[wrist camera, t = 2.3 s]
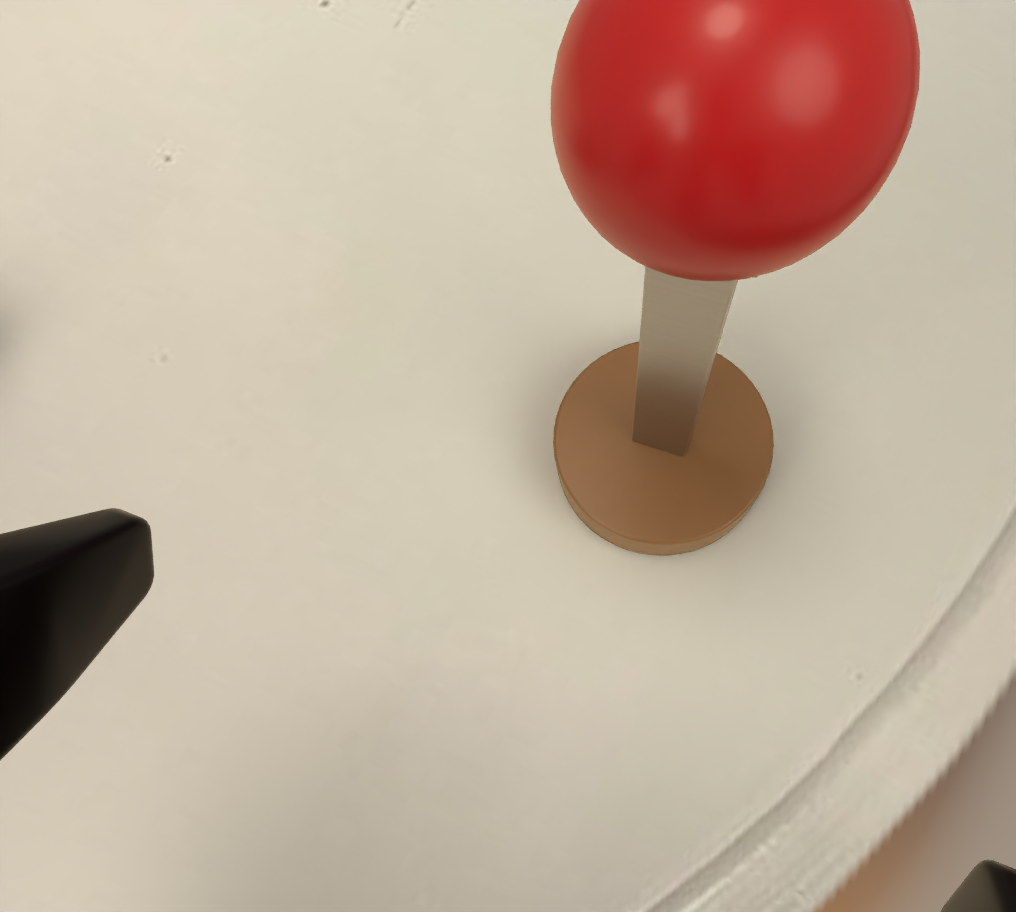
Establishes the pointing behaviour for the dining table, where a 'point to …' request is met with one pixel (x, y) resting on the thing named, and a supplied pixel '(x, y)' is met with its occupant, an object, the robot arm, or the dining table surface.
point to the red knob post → (709, 225)
